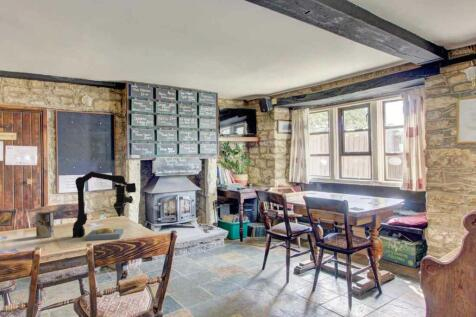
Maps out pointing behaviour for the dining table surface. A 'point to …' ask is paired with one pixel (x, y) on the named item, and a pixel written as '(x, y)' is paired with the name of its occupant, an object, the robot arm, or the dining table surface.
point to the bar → (105, 230)
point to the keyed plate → (104, 235)
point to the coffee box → (44, 224)
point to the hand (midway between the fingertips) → (120, 215)
